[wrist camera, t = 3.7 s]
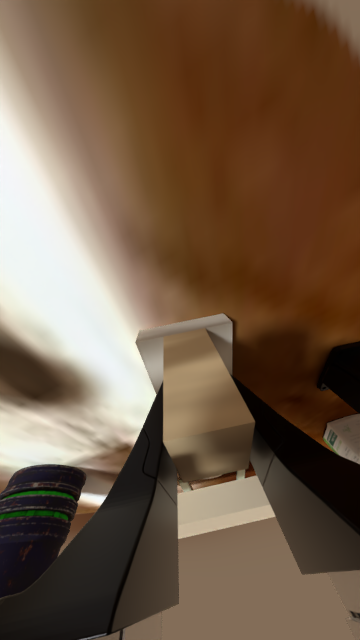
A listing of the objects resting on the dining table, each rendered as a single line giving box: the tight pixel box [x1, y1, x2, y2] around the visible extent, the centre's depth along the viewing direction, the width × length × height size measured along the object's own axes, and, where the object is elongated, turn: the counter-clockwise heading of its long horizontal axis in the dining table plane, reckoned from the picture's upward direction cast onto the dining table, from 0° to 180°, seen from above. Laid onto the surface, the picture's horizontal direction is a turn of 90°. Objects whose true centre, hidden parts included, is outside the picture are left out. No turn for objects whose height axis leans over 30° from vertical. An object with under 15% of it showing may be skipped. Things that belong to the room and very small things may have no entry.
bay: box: [179, 469, 245, 492], centre depth 29 cm, size 13×11×1 cm
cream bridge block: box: [177, 474, 275, 539], centre depth 22 cm, size 20×9×6 cm, turn 100°
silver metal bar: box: [136, 313, 255, 483], centre depth 13 cm, size 24×7×8 cm, turn 10°
